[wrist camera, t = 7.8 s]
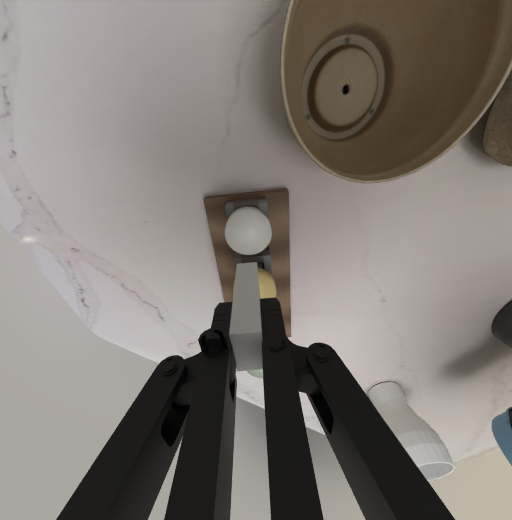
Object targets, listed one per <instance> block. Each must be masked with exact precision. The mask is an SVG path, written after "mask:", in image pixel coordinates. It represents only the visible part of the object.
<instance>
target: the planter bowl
mask: <svg viewBox="0 0 512 520" xmlns="http://www.w3.org/2000/svg"><path fill="white" fill-rule="evenodd" d="M511 69H512V0H290V2H289V6H288V10H287V14H286V19H285V23H284V29H283V35H282V43H281V53H280V81H281V95H282V102H283V108H284V112H285V116H286V119H287V122H288V125H289V127H290V129H291V131H292V133H293V135H294V137H295V139H296V141H297V142H298V144H299V145H300V146H301V148H302V149H303V150H304V151H305V153H306V154H307V155H308V156H309V157H310V158H311V159H312V160H313V161H314V162H315V163H316V164H317V165H318V166H320V167H321V168H322V169H324V170H325V171H327V172H329V173H330V174H332V175H334V176H337V177H339V178H342V179H345V180H348V181H352V182H358V183H379V182H386V181H391V180H395V179H398V178H401V177H404V176H407V175H409V174H412V173H414V172H416V171H418V170H420V169H422V168H424V167H425V166H427V165H429V164H431V163H432V162H434V161H435V160H437V159H438V158H440V157H441V156H442V155H444V154H445V153H446V152H448V151H449V150H450V149H451V148H452V147H454V146H455V145H456V144H457V143H458V142H459V141H460V140H461V139H462V138H463V137H464V136H465V135H466V134H467V133H468V132H469V131H470V130H471V129H472V127H473V126H474V125H475V124H476V123H477V122H478V120H479V119H480V118H481V117H482V116H483V114H484V113H485V111H486V110H487V109H488V107H489V106H490V105H491V103H492V102H493V100H494V99H495V97H496V96H497V94H498V92H499V91H500V89H501V87H502V86H503V84H504V82H505V80H506V79H507V77H508V75H509V73H510V71H511ZM346 85H348V88H349V91H348V93H347V94H343V92H342V89H343V87H344V86H346Z"/></svg>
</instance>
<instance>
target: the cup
mask: <svg viewBox="0 0 512 520" xmlns="http://www.w3.org/2000/svg"><path fill="white" fill-rule="evenodd" d="M368 396H369V398H370V400H371V401H372V403H373V404H374V406H375V407H376V409H377V410H378V412H379V413H380V415H381V416H382V418H383V419H384V420H385V422H386V423H387V425H388V426H389V427H390V429H391V430H392V432H393V433H394V434H395V436H396V437H397V439H398V440H399V441H400V443H401V444H402V446H403V447H404V449H405V450H406V451H407V453H408V454H409V456H410V457H411V458H412V460H413V461H414V463H415V464H416V465H417V467H418V468H419V470H420V471H421V472H422V474H423V475H424V477H425V478H426V479H427V481H431V480H435V479H439V478H442V477H444V476H446V475H449V474H450V473H452V472H453V471H454V469H455V465H454V463H453V461H452V459H451V456H450V454H449V452H448V449H447V448H446V446H445V445H444V443H443V442H442V440H441V439H440V437H439V435H438V434H437V433H436V432H435V431H434V430H433V429H432V428H431V427H430V426H429V425H428V423H427V422H425V421H424V420H423V419H422V418H420V417H419V416H418V415H417V414H415V413H414V411H413V410H412V409H411V407H410V406H409V405H408V403H407V402H406V399H405V397H404V395H403V392H402V390H401V388H400V386H399V385H398V384H396V383H393V382H384V383H380V384H378V385H375V386H374V387H372V388H371V389H370V390H369V392H368Z"/></svg>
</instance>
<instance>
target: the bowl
mask: <svg viewBox="0 0 512 520" xmlns="http://www.w3.org/2000/svg"><path fill="white" fill-rule="evenodd" d="M483 147H484V150H485V152H486V153H487V154H489V155H490V156H492V157H493V158H494V159H495V160H496V161H498V162H499V163H502V164H504V165H508V166H512V71H511V72H510V74H509V75H508V77H507V79H506V80H505V82H504V84H503V86H502V87H501V89H500V91H499V93H498V95H497V98H496V100H495V102H494V104H493V106H492V109H491V111H490V114H489V117H488V120H487V123H486V127H485V132H484V139H483Z"/></svg>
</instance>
